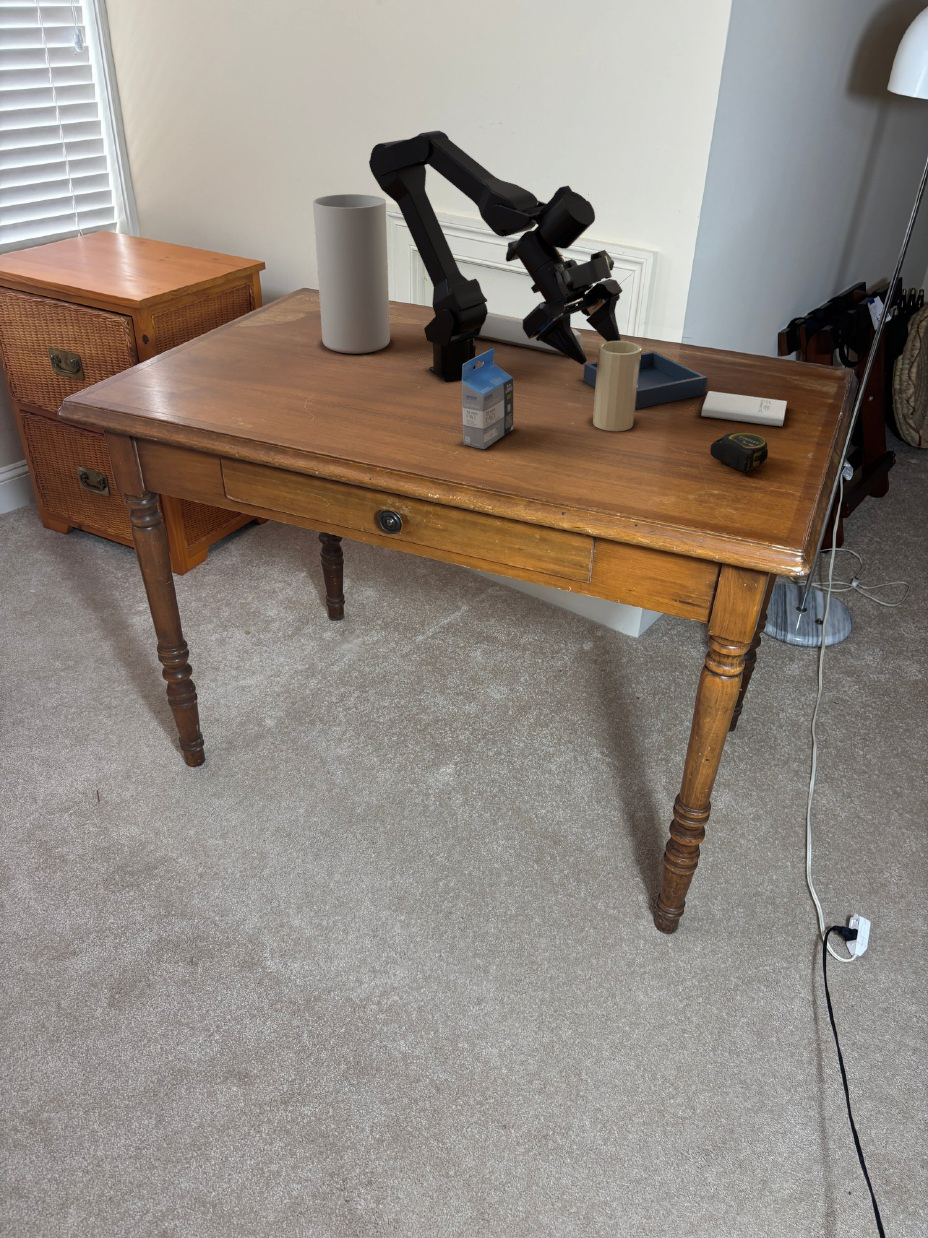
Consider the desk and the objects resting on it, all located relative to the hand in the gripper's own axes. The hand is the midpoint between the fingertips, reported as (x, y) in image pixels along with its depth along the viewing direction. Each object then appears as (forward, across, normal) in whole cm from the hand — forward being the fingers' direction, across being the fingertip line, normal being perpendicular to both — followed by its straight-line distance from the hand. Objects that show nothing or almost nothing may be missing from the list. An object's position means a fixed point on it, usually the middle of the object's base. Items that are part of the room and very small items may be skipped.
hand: (602, 355), depth 149 cm
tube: (-15, +20, +29) cm, 38 cm away
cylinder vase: (-31, -1, +45) cm, 55 cm away
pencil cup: (+9, 0, +5) cm, 11 cm away
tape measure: (+25, -1, -10) cm, 27 cm away
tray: (+6, +16, +9) cm, 19 cm away
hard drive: (+19, +18, -4) cm, 26 cm away
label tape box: (+2, -17, +13) cm, 22 cm away
